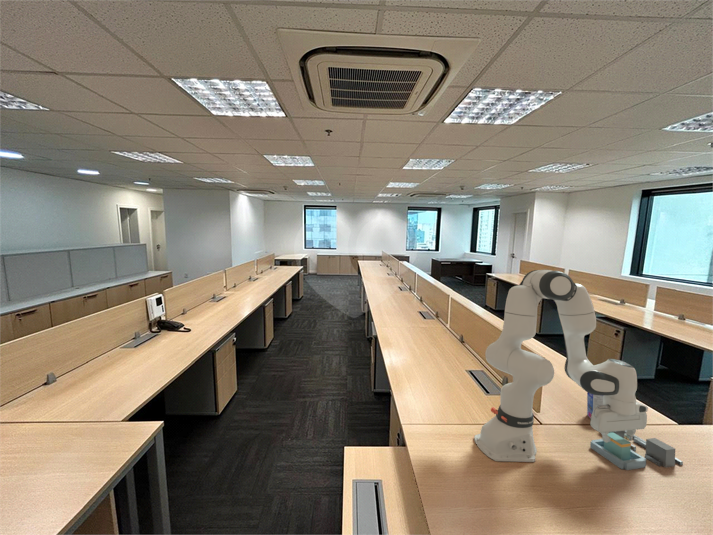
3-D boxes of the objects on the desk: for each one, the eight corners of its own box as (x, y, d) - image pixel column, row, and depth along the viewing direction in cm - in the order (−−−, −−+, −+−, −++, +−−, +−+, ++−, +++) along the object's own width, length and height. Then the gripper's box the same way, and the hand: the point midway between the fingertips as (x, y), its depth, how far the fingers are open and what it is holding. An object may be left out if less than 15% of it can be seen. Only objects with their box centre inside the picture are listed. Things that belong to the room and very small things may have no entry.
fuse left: (616, 438, 114) (617, 423, 114) (601, 429, 120) (602, 414, 120) (624, 437, 115) (625, 422, 115) (609, 428, 121) (609, 414, 120)
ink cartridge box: (610, 417, 129) (611, 386, 129) (618, 424, 124) (619, 392, 123) (585, 414, 132) (586, 384, 131) (592, 420, 126) (593, 389, 126)
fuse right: (665, 467, 98) (666, 450, 98) (645, 455, 104) (646, 439, 104) (674, 466, 99) (675, 448, 99) (654, 454, 105) (654, 437, 105)
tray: (623, 470, 97) (624, 463, 97) (588, 446, 109) (588, 440, 109) (647, 466, 99) (648, 460, 99) (610, 443, 111) (611, 437, 111)
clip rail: (655, 469, 98) (656, 465, 98) (593, 430, 119) (593, 427, 119) (682, 464, 100) (682, 460, 100) (616, 427, 121) (616, 424, 121)
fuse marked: (621, 461, 101) (621, 443, 100) (603, 449, 107) (604, 433, 106) (630, 459, 101) (631, 442, 101) (612, 448, 107) (613, 432, 107)
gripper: (603, 410, 98) (601, 448, 99) (652, 407, 101) (650, 444, 102) (586, 401, 104) (584, 437, 105) (632, 398, 107) (630, 433, 108)
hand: (617, 440), depth 103 cm, fingers open, 8 cm apart
